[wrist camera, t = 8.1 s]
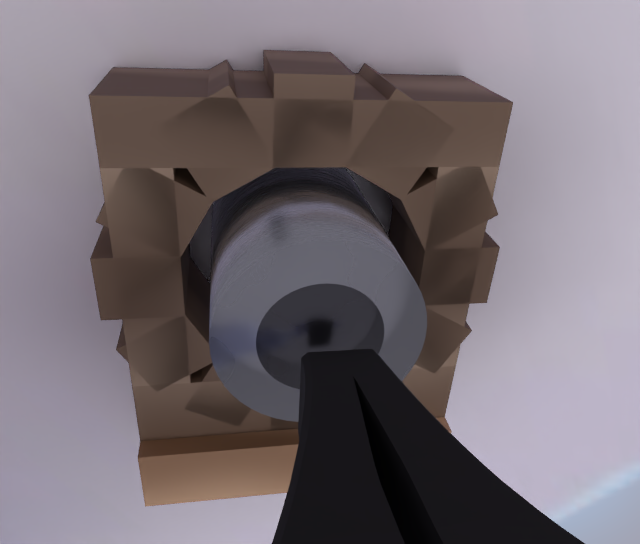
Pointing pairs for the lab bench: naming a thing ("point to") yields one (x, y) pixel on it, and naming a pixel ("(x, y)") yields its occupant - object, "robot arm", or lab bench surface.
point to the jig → (237, 170)
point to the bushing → (304, 285)
